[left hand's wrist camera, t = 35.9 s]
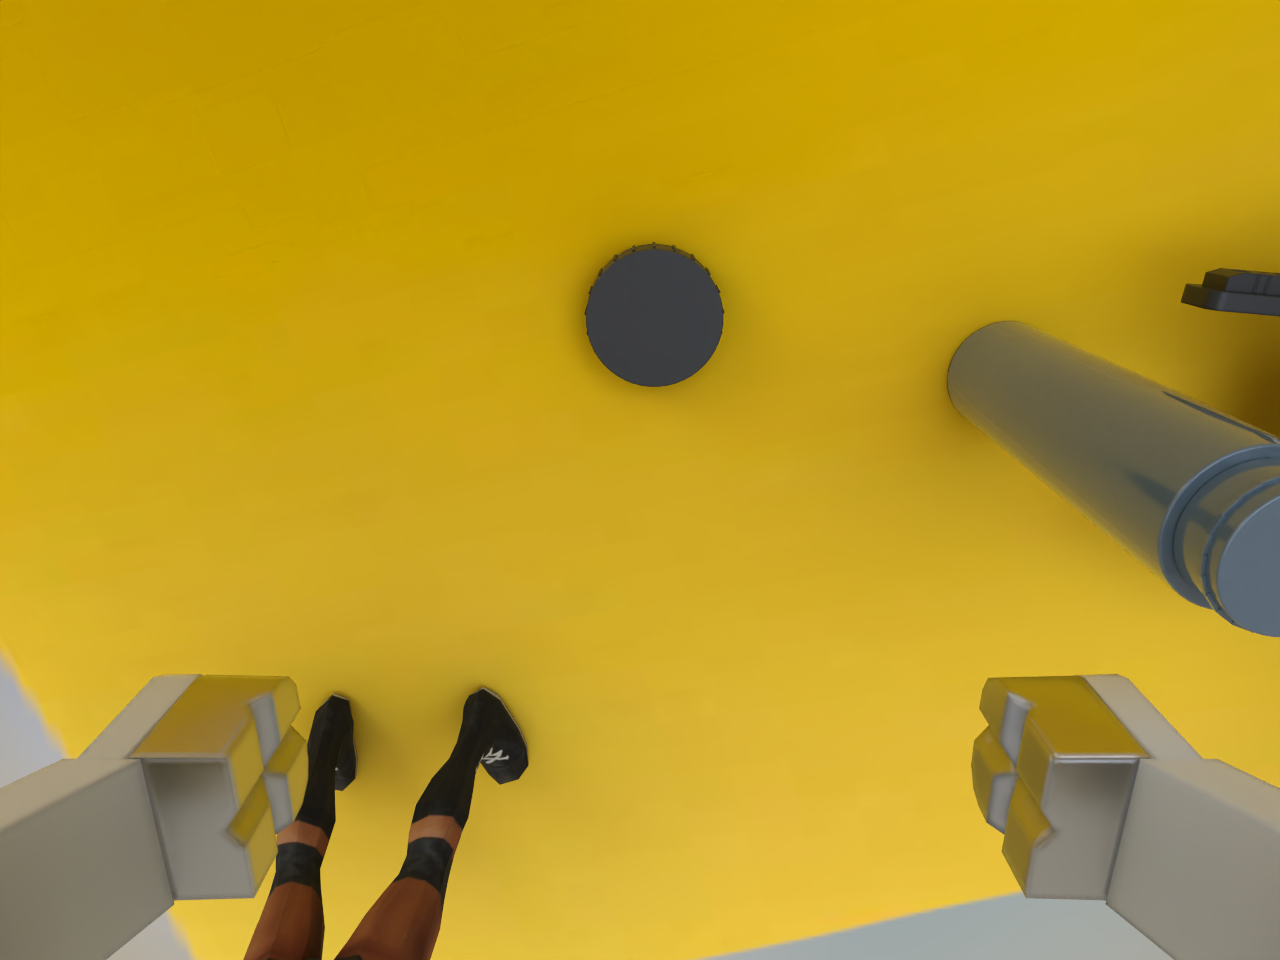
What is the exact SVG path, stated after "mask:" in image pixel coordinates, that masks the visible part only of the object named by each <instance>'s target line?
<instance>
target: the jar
mask: <svg viewBox="0 0 1280 960" xmlns="http://www.w3.org/2000/svg"><path fill="white" fill-rule="evenodd" d="M947 385H948V392H949V396H950V399H951V401H952V403H953V405H954V407H955V408H956V409H957V411H958V412H959V413H960V414H961V415H962V416H963V417H964V418H966V419H967V420H968V421H969V422H971V423H972V424H973V425H974V426H975V427H977V428H978V429H979V430H980V431H981V432H983V433H984V434H985V435H986V436H987V437H989V438H990V439H991V440H992V441H994V442H995V443H996V444H997V445H998V446H1000V447H1001V448H1002V449H1003V450H1004V451H1006V452H1007V453H1008V454H1009V455H1010V456H1012V457H1013V458H1014V459H1015V460H1017V461H1018V462H1019V463H1020V464H1021V465H1023V466H1024V467H1025V468H1026V469H1027V470H1029V471H1030V472H1031V473H1032V474H1034V475H1035V476H1036V477H1037V478H1038V479H1040V480H1041V481H1042V482H1043V483H1044V484H1046V485H1047V486H1048V487H1049V488H1050V489H1052V490H1053V491H1054V492H1055V493H1057V494H1058V495H1059V496H1060V497H1061V498H1063V499H1064V500H1065V501H1066V502H1067V503H1069V504H1070V505H1071V506H1072V507H1073V508H1075V509H1076V510H1077V511H1078V512H1080V513H1081V514H1082V515H1083V516H1084V517H1086V518H1087V519H1088V520H1089V521H1090V522H1092V523H1093V524H1094V525H1095V526H1097V527H1098V528H1099V529H1100V530H1101V531H1103V532H1104V533H1105V534H1106V535H1107V536H1109V537H1110V538H1111V539H1112V540H1113V541H1115V542H1116V543H1117V544H1118V545H1120V546H1121V547H1122V548H1123V549H1124V550H1126V551H1127V552H1128V553H1129V554H1130V555H1132V556H1133V557H1134V558H1135V559H1136V560H1138V561H1139V562H1140V563H1141V564H1143V565H1144V566H1145V567H1146V568H1147V569H1149V570H1150V571H1151V572H1152V573H1153V574H1155V575H1156V576H1157V577H1158V578H1159V579H1161V580H1162V581H1163V582H1164V583H1166V584H1167V585H1168V586H1169V587H1170V588H1172V589H1173V590H1174V591H1175V592H1176V593H1178V594H1179V595H1180V596H1182V597H1183V598H1185V599H1186V600H1188V601H1189V602H1191V603H1194V604H1196V605H1198V606H1201V607H1204V608H1207V609H1213V610H1214V611H1215V612H1217V613H1218V614H1219V615H1221V616H1222V617H1223V618H1224V619H1226V620H1227V621H1228V622H1229V623H1231V624H1232V625H1234V626H1237V627H1240V628H1242V629H1245V630H1248V631H1250V632H1253V633H1257V634H1261V635H1266V636H1271V637H1280V437H1278V436H1276V435H1273V434H1271V433H1269V432H1267V431H1265V430H1262V429H1260V428H1258V427H1256V426H1253V425H1251V424H1249V423H1247V422H1245V421H1242V420H1240V419H1238V418H1236V417H1233V416H1231V415H1229V414H1227V413H1225V412H1222V411H1220V410H1218V409H1216V408H1213V407H1211V406H1209V405H1207V404H1205V403H1202V402H1200V401H1198V400H1196V399H1193V398H1191V397H1189V396H1187V395H1184V394H1182V393H1180V392H1178V391H1176V390H1173V389H1171V388H1169V387H1167V386H1164V385H1162V384H1160V383H1158V382H1156V381H1153V380H1151V379H1149V378H1147V377H1144V376H1142V375H1140V374H1138V373H1136V372H1133V371H1131V370H1129V369H1127V368H1124V367H1122V366H1120V365H1118V364H1116V363H1113V362H1111V361H1109V360H1107V359H1104V358H1102V357H1100V356H1098V355H1095V354H1093V353H1091V352H1089V351H1087V350H1084V349H1082V348H1080V347H1078V346H1075V345H1073V344H1071V343H1069V342H1067V341H1064V340H1062V339H1060V338H1058V337H1055V336H1053V335H1051V334H1049V333H1047V332H1044V331H1042V330H1040V329H1038V328H1035V327H1033V326H1031V325H1028V324H1025V323H1022V322H1017V321H1003V322H997V323H993V324H990V325H987V326H985V327H983V328H981V329H979V330H978V331H976V332H975V333H973V334H972V335H971V336H969V337H968V338H967V339H966V340H965V341H964V342H963V343H962V344H961V346H960V347H959V348H958V350H957V351H956V353H955V355H954V357H953V359H952V361H951V364H950V367H949V371H948V379H947Z"/></svg>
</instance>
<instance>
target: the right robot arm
mask: <svg viewBox="0 0 1280 960" xmlns="http://www.w3.org/2000/svg"><path fill="white" fill-rule="evenodd" d="M1181 302H1182V303H1186V304H1189V305H1193V306H1197V307H1200V308H1204V309H1210V310H1216V311H1226V312H1237V313H1248V314H1260V315H1271V316H1280V273H1269V272H1258V271H1246V270H1235V269H1225V268H1219V269H1216V270H1212V271H1209V272H1206V274H1205V277H1204V281H1203V284H1202V285H1198V284H1186V285H1185V289H1184V292H1183V296H1182V299H1181Z"/></svg>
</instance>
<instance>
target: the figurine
mask: <svg viewBox="0 0 1280 960" xmlns="http://www.w3.org/2000/svg"><path fill="white" fill-rule="evenodd" d="M307 753H308V781H307V786H306V790H305V794H304V799H303V803H302V806H301V808H300V810H299V812H298V814H297V816H296V818H295V820H294V822H293V823H292V824H290V825H289V826H287V827H286V828H285V829H283V830H282V831H280V832H279V833H277V848H278V853H277V855H276V873H275V877H274V880H273V884H272V887H271V890H270V894H269V896H268V899H267V901H266V904H265V907H264V909H263V912H262V914H261V917H260V920H259V922H258V924H257V926H256V929H255V932H254V934H253V937H252V939H251V942H250V944H249V947H248V949H247V952H246V955H245V957H244V960H322V950H323V940H324V930H325V925H324V915H323V905H322V895H321V882H320V867H321V864H322V861H323V858H324V855H325V852H326V849H327V846H328V843H329V840H330V837H331V833H332V830H333V827H334V824H335V821H336V820H335V790H340V791H343V790H344V789H345V788H346V787H347V786H348V785H349V784H350V783H351V782H352V781H353V780H354V779H355V778H356V771H357V753H356V748H355V742H354V737H353V719H352V715H351V707H350V700H349V699H347V698H345V697H342V696H340V695H337V694H335V693H334V694H333V695H332V696H331V697H330V698H329V699H328V700H326V701H325V702H324V703H323V704H322V706H321V707H320V708H319V709H318V710H317V711H316V713H315V717H314V720H313V725H312V729H311V732H310V736H309V740H308V744H307ZM480 762H481V764H482V765H483V767H484V768H485V769H486V771H487V772H488V774H489V775H490V776H491V777H492V778H493V779H495V780H496V781H497V782H498V783H499V784H503V783H507V782H510V781H514V780H517V779H519V778H520V776H521V775H522V773H523V772H524V771H525V769H526V768H527V766H528V754H527V744H526V741H525V739H524V737H523V735H522V732H521V730H520V728H519V726H518V725H517V723H516V722H515V720H514V718H513V717H512V715H511V714H510V712H509V710H508V709H507V707H506V706H505V704H504V703H503V701H502V699H501V698H500V696H498V695H496V694H495V693H493V692H492V691H490V690H489V689H487V688H485V687H484V688H482V689H480V690H478V691H477V692H475V693H473V694H471V695H469V697H468V699H467V700H466V703H465V705H464V710H463V722H462V726H461V729H460V733H459V737H458V740H457V743H456V745H455V748H454V750H453V752H452V754H451V756H450V758H449V760H448V761H447V762H446V763H445V764H444V765H443V766H442V768H441V769H440V770H439V771H438V772H437V773H436V774H435V776H434V777H433V778H432V779H431V781H430V783H429V784H428V786H427V788H426V789H425V791H424V793H423V794H422V796H421V798H420V799H419V801H418V803H417V804H416V808H415V812H414V816H413V820H412V824H411V828H410V832H409V839H408V849H407V857H406V859H405V861H404V864H403V866H402V868H401V871H400V873H399V875H398V876H397V877H396V878H395V879H394V881H393V882H392V883H391V884H390V885H389V886H388V888H387V889H386V890H385V891H384V892H383V894H382V895H381V896H380V897H379V899H378V900H377V901H376V902H375V903H374V905H373V906H372V907H371V908H370V910H369V911H368V912H367V913H366V915H365V916H364V918H363V919H362V921H361V922H360V924H359V925H358V927H357V928H356V930H355V931H354V933H353V934H352V936H351V937H350V939H349V940H348V942H347V943H346V944H345V946H344V947H343V948H342V950H341V951H340V952H339V954H338V955H337V956H336V958H335V959H334V960H430V958H431V955H432V952H433V949H434V946H435V943H436V940H437V937H438V933H439V930H440V925H441V918H442V911H443V904H444V898H445V893H446V888H447V883H448V878H449V874H450V870H451V866H452V862H453V858H454V854H455V851H456V848H457V845H458V843H459V840H460V837H461V834H462V831H463V828H464V826H465V824H466V821H467V819H468V816H469V810H470V805H471V799H472V793H473V787H474V780H475V774H476V771H477V769H478V767H479V764H480Z"/></svg>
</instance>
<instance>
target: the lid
mask: <svg viewBox="0 0 1280 960" xmlns="http://www.w3.org/2000/svg"><path fill="white" fill-rule="evenodd" d="M598 275H599V276H598V277H597V279H596V281H595V283H594V286H593V287H592V286H591V288H590V291H589V294H590V297H589V300H588V304H587V307H586V310H585V315H586V326H587V335H588V336H589V340H590V343H591V345H592V347H593V350H594V352H595V354H596V355H597V356H598V358H599V359H600V360H601V362H602V363H603V364H604V365H605V366H606V367H607V368H608V369H609V370H610V371H611V372H613V373H614V374H615V375H617V376H618V377H620V378H622V379H624V380H626V381H628V382H631V383H634V384H637V385H641V386H649V387H659V386H667V385H671V384H675V383H678V382H680V381H683V380H685V379H687V378H688V377H690V376H692V375H693V374H695V373H696V372H697V371H699V370H700V369H701V368H702V367H703V366H704V365H705V364H706V363H707V361H708V360H709V359H710V358H711V356H712V355H713V353H714V351H715V350H716V347H717V345H718V343H719V340H720V337H721V334H722V328H723V314H724V310H723V307H722V302H721V298H720V295H719V293H720V290H719V289H718V287H717V285H715V284H714V282H713V280H712V279H711V277H710V272H709V270H708V269H707V268H704V267H703V266H702V265H701V264H700V263H699V262H698V261H697V260H696V259H695V257H694V255H693V254H691V255H689V254H688V253H686V252H684V251H682V250H680V249H677V248H676V247H675V245H673V246H672V247H671V246H668V245H661V244H655V242H653V244H648V245H641V246H637V247H635V245H634V246H632V248H631V249H629V250H626V251H624V252H623V253H621V254H619V255H614V259H612V260H611V261H610V262H609V263H608V264H607V265H606V266H605V267H604V268H603V269H602V268H601V269H600V271H599V274H598Z"/></svg>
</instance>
